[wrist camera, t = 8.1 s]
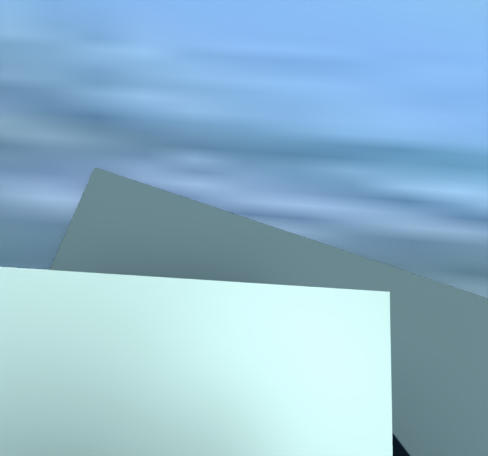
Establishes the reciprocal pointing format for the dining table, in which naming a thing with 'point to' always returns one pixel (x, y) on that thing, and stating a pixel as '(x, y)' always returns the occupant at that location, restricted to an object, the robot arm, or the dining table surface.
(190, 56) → the dining table surface
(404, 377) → the placemat
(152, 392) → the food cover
